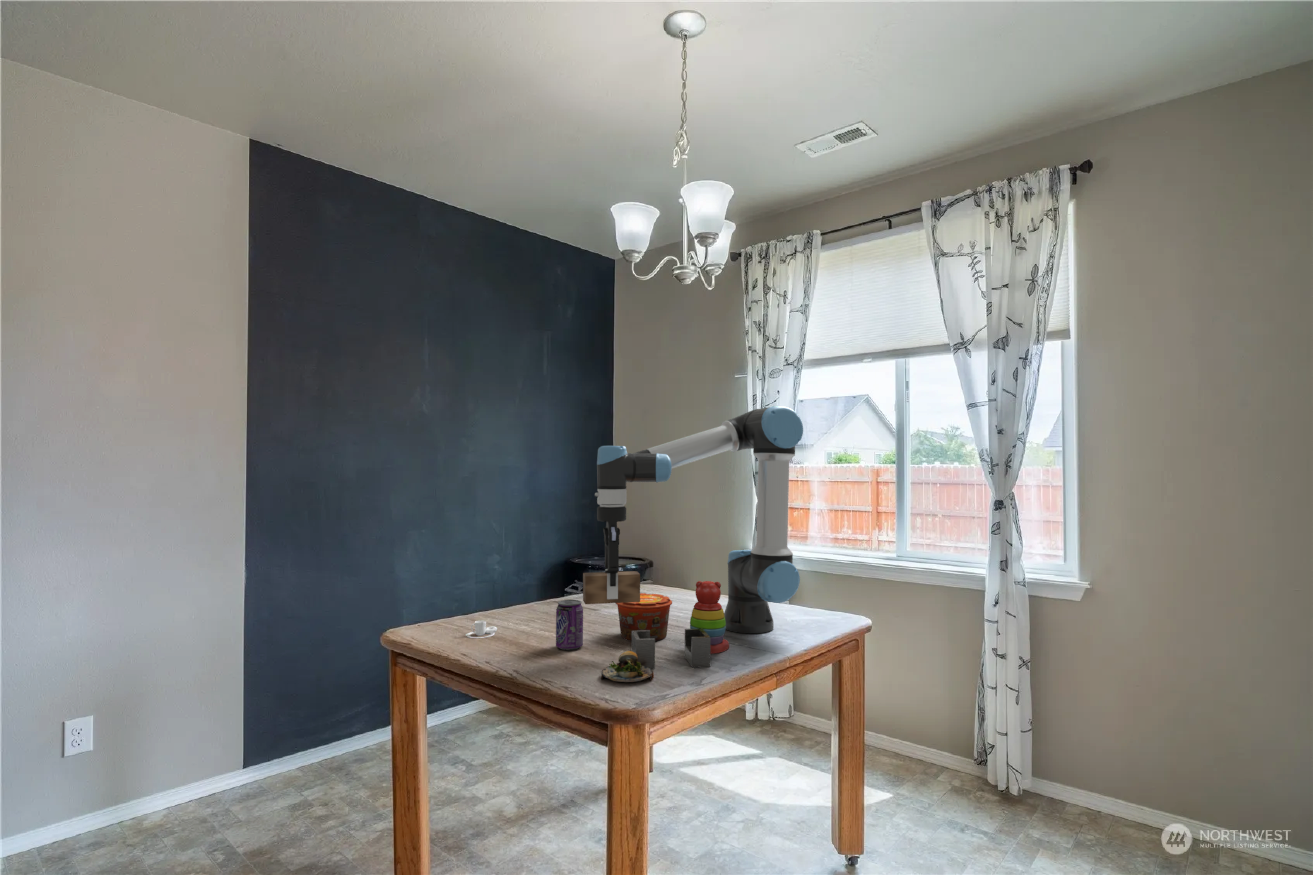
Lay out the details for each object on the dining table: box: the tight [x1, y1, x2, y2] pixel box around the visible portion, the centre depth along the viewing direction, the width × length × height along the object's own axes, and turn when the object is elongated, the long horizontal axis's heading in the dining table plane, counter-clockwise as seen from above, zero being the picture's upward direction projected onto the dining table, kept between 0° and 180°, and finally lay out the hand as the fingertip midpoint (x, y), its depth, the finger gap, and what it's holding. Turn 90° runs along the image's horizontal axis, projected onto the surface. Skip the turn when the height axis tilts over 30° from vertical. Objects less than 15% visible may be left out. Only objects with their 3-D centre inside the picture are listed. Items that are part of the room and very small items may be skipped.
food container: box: [615, 592, 673, 642], centre depth 194 cm, size 16×16×11 cm
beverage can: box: [555, 599, 584, 651], centre depth 182 cm, size 7×7×12 cm
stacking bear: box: [689, 580, 730, 655], centre depth 182 cm, size 11×10×18 cm
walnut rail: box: [582, 570, 641, 605], centre depth 177 cm, size 14×5×7 cm, turn 103°
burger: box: [600, 646, 655, 683], centre depth 157 cm, size 12×12×8 cm
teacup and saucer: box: [465, 620, 498, 639], centre depth 195 cm, size 9×8×4 cm
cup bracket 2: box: [684, 628, 711, 669], centre depth 170 cm, size 4×9×7 cm, turn 9°
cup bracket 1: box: [631, 630, 656, 670], centre depth 168 cm, size 4×9×7 cm, turn 9°
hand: (611, 596), depth 177 cm, fingers closed on walnut rail, 5 cm apart
